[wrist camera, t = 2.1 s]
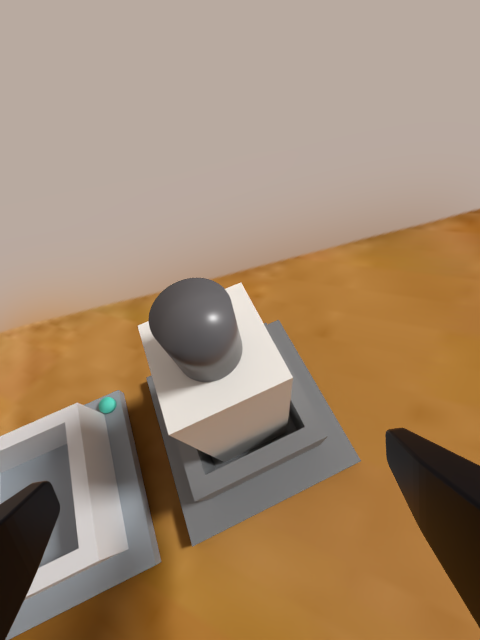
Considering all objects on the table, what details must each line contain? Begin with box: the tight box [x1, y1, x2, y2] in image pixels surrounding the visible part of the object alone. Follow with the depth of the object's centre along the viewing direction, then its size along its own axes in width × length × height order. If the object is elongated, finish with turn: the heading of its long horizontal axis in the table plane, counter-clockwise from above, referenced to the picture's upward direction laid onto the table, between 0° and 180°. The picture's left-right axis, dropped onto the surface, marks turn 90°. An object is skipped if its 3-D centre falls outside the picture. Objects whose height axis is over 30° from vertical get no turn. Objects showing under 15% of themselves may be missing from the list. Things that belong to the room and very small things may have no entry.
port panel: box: [0, 390, 161, 640], centre depth 16 cm, size 10×10×4 cm
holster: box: [147, 320, 361, 546], centre depth 17 cm, size 10×10×4 cm
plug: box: [138, 278, 293, 462], centre depth 13 cm, size 4×4×12 cm
